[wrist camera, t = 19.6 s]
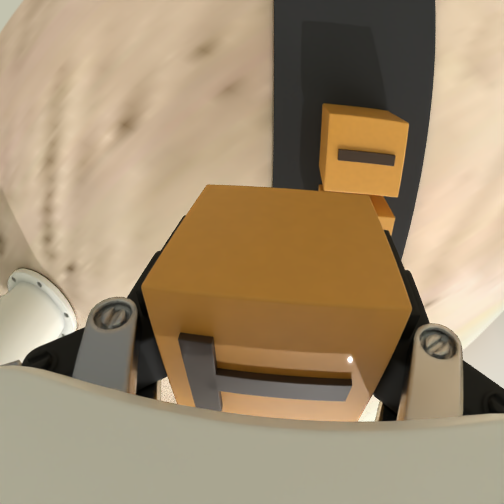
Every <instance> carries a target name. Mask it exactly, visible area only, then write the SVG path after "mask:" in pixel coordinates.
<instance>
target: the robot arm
mask: <svg viewBox="0 0 504 504" xmlns="http://www.w3.org/2000/svg"><path fill="white" fill-rule="evenodd" d="M185 216H186V215H185ZM185 216H183V218H182V219H181V221H180V222H179V224H178V225H177V227H176V228H175V230H174V231H173V233H172V234H171V236H170V237H169V239H168V240H167V242H166V244H165V245H164V247H163V248H162V250H161V251H158V252H156V253H155V255H154V256H153V258H152V259H151V261H150V262H149V264H148V265H147V267H146V268H145V270H144V272H143V273H142V275H141V276H140V278H139V279H138V281H137V283H136V284H135V286H134V287H133V289H132V291H131V292H130V294H129V295H128V297H127V298H125V297H113V298H108V299H106V300H103V301H101V302H100V303H98V304H97V305H95V307H94V308H93V309H92V310H91V312H90V314H89V316H88V319H87V322H86V326H85V327H84V328H82V329H80V330H77V331H75V330H76V327H77V322H76V317H75V314H74V312H73V309H72V307H71V306H70V304H69V302H68V301H67V299H66V298H65V296H64V295H63V294H62V293H61V292H60V291H59V289H58V288H57V287H56V286H55V285H53V284H52V283H51V282H50V281H49V280H48V279H46V278H45V277H43V276H42V275H40V274H39V273H37V272H34V271H32V270H28V269H18V270H16V271H14V272H13V273H12V274H11V276H10V277H9V279H8V292H7V294H6V295H2V296H0V504H504V389H503V388H502V387H500V386H499V385H498V384H496V383H495V382H493V381H492V380H490V379H489V378H487V377H486V376H485V375H483V374H482V373H481V372H479V371H478V370H476V369H475V368H473V367H472V366H471V365H469V364H468V363H466V362H465V361H463V357H462V345H461V342H460V340H459V338H458V336H457V335H456V334H455V333H454V332H453V331H452V330H450V329H449V328H447V327H445V326H443V325H440V324H434V323H429V320H428V317H427V314H426V312H425V309H424V306H423V303H422V301H421V298H420V295H419V292H418V290H417V287H416V285H415V282H414V279H413V277H412V274H411V273H410V271H408V270H405V269H404V267H403V264H402V262H401V259H400V257H399V254H398V252H397V249H396V247H395V245H394V242H393V240H392V237H391V235H390V233H389V231H388V230H384V232H385V235H386V237H387V240H388V242H389V245H390V247H391V250H392V252H393V255H394V258H395V260H396V263H397V266H398V268H399V271H400V274H401V277H402V279H403V282H404V285H405V288H406V291H407V294H408V297H409V300H410V303H411V306H412V311H411V314H410V316H409V319H408V321H407V323H406V326H405V328H404V330H403V333H402V335H401V337H400V339H399V342H398V344H397V346H396V348H395V350H394V353H393V355H392V357H391V359H390V361H389V363H388V365H387V367H386V369H385V371H384V373H383V375H382V377H381V379H380V381H379V383H378V385H377V387H376V389H375V391H374V393H373V395H374V396H375V397H376V398H377V399H379V400H380V402H379V405H378V410H377V414H376V418H375V422H339V421H311V420H294V419H281V418H270V417H260V416H251V415H243V414H235V413H227V412H221V411H214V410H208V409H202V408H196V407H190V406H185V405H179V404H174V403H169V402H164V401H161V379H163V378H165V377H167V373H166V370H165V367H164V364H163V361H162V358H161V355H160V352H159V348H158V345H157V342H156V339H155V335H154V332H153V329H152V325H151V322H150V318H149V315H148V311H147V307H146V304H145V300H144V296H143V293H142V289H141V286H142V283H143V282H144V280H145V279H146V277H147V275H148V274H149V272H150V270H151V269H152V267H153V266H154V264H155V262H156V261H157V259H158V258H159V256H160V255H161V253H162V251H163V250H164V248H165V247H166V245H167V244H168V242H169V241H170V239H171V237H172V236H173V234H174V233H175V231H176V230H177V228H178V227H179V225H180V224H181V222H182V221H183V219H184V218H185Z"/></svg>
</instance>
